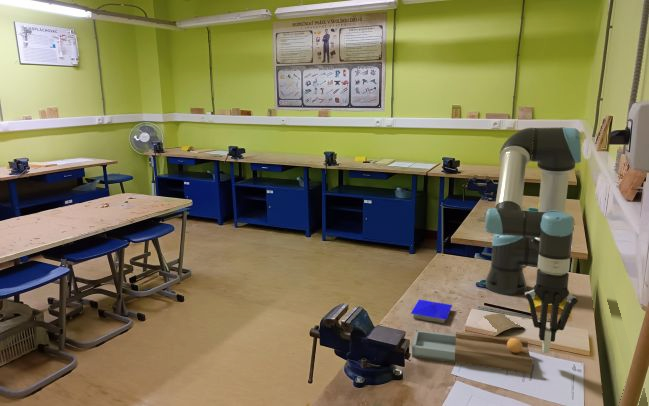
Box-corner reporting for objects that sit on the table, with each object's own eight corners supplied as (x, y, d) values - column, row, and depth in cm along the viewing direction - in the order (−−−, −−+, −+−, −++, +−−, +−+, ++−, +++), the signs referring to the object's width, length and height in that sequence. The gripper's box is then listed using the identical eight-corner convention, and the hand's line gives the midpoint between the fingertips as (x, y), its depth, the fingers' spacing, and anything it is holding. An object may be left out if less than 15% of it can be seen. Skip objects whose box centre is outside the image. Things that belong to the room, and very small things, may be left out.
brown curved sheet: (506, 317, 153) (507, 310, 152) (529, 330, 144) (529, 322, 143) (472, 325, 148) (472, 317, 148) (493, 339, 139) (493, 331, 138)
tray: (415, 339, 139) (415, 330, 138) (455, 344, 135) (455, 335, 134) (412, 356, 129) (412, 346, 129) (454, 362, 126) (455, 352, 125)
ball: (505, 347, 128) (506, 334, 127) (521, 349, 126) (521, 336, 125) (507, 354, 124) (508, 341, 123) (522, 356, 123) (523, 343, 122)
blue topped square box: (410, 319, 153) (410, 304, 152) (418, 305, 163) (419, 291, 162) (445, 326, 148) (446, 311, 146) (452, 311, 158) (452, 297, 157)
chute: (455, 344, 135) (456, 332, 134) (526, 354, 129) (527, 341, 128) (454, 362, 126) (455, 349, 125) (531, 373, 120) (532, 359, 119)
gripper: (528, 273, 116) (521, 354, 121) (584, 277, 112) (575, 361, 117) (524, 263, 123) (518, 340, 128) (577, 267, 119) (569, 347, 124)
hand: (545, 350), depth 122 cm, fingers closed
